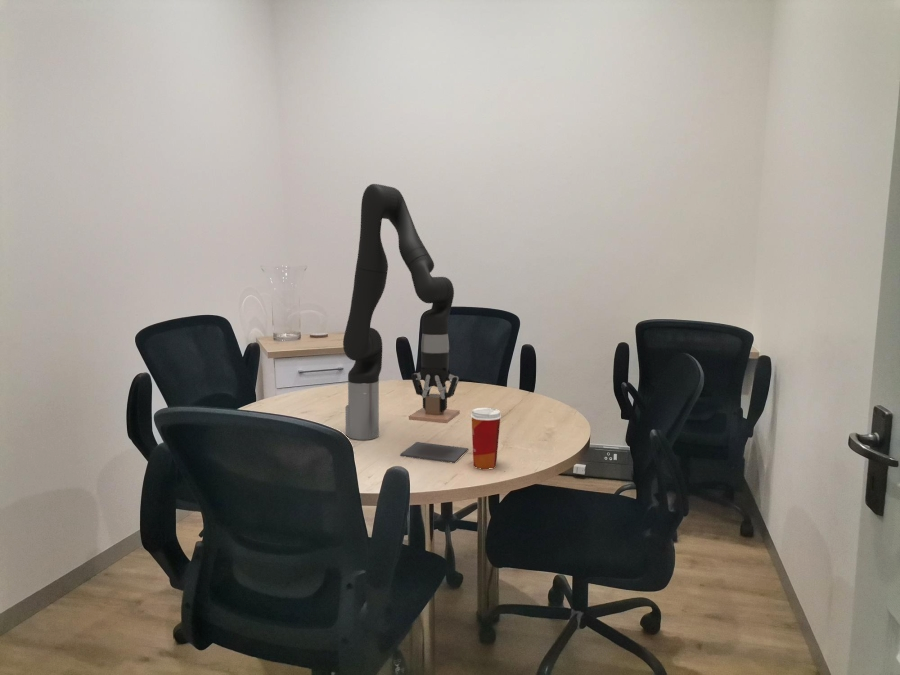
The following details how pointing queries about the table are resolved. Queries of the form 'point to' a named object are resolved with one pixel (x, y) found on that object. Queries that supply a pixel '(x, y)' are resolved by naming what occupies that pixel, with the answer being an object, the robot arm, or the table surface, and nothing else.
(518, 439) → the table surface
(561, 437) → the table surface
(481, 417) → the coffee cup
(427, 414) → the cover
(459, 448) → the mat
